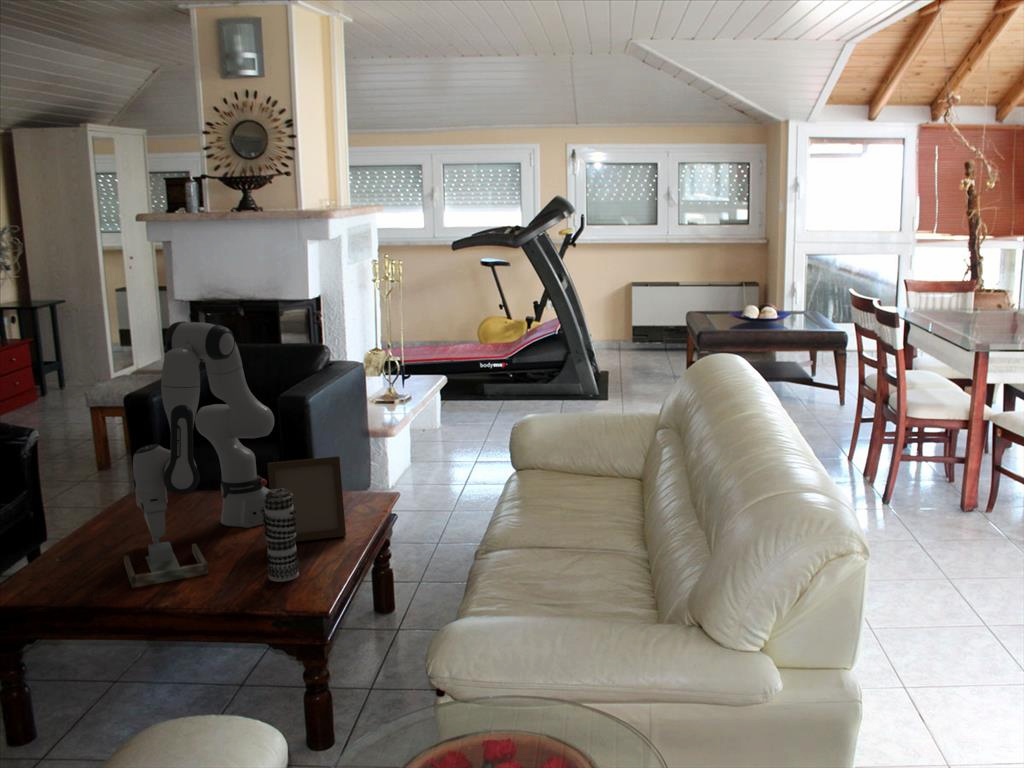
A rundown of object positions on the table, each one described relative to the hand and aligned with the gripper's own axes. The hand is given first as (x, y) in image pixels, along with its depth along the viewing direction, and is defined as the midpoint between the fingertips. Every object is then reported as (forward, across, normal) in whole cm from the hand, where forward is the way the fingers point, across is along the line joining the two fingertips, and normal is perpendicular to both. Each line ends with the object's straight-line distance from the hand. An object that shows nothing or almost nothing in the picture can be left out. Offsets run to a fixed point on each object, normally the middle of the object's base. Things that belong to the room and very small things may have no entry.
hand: (156, 542), depth 301 cm
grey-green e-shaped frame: (+3, +16, 0) cm, 16 cm away
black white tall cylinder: (+3, +40, +29) cm, 49 cm away
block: (+2, +8, 0) cm, 9 cm away
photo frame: (+3, +10, +44) cm, 45 cm away
